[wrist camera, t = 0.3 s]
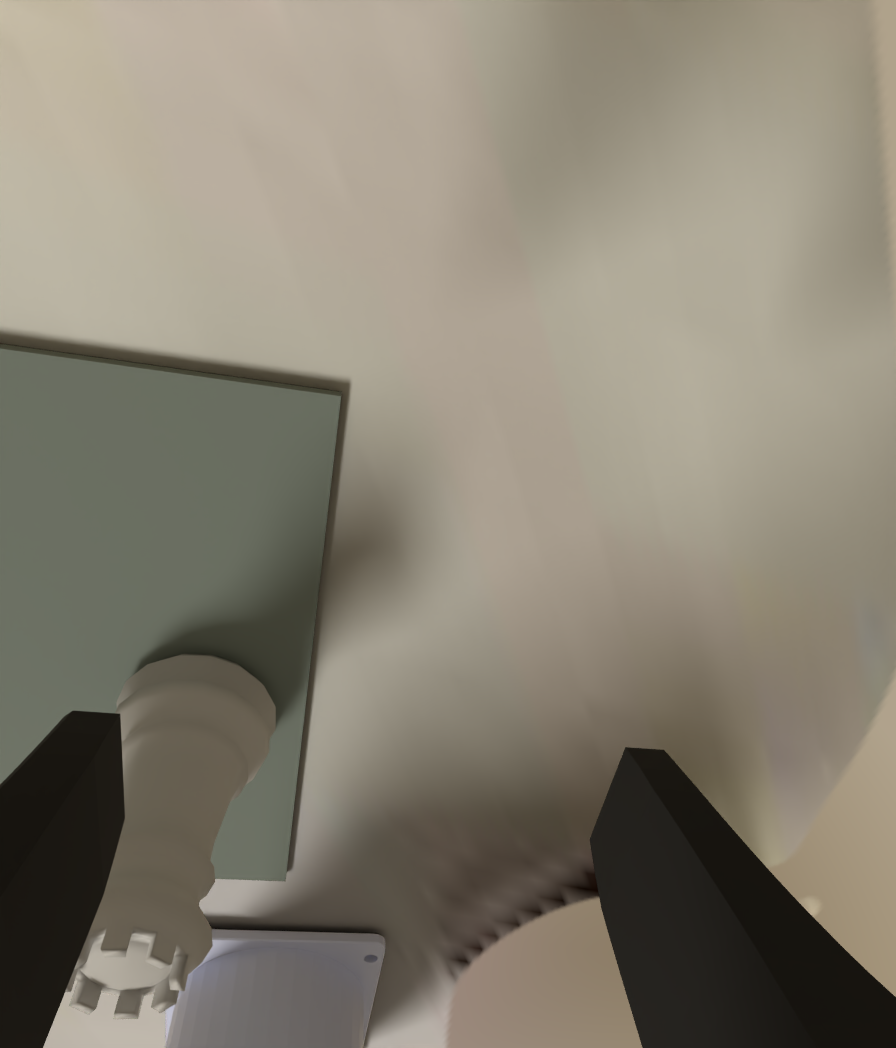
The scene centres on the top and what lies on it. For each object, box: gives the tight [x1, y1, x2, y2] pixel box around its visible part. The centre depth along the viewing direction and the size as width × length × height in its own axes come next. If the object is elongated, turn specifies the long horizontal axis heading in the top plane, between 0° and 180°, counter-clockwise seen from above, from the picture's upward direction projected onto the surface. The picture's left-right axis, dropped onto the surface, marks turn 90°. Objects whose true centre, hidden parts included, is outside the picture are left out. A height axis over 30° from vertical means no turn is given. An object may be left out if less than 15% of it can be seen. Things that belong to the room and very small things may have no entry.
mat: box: [0, 344, 342, 881], centre depth 21 cm, size 18×16×1 cm
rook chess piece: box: [65, 654, 276, 1019], centre depth 18 cm, size 4×4×8 cm
